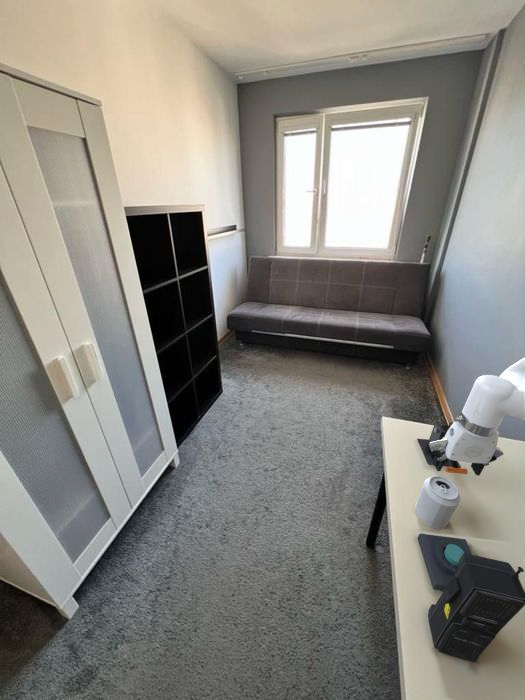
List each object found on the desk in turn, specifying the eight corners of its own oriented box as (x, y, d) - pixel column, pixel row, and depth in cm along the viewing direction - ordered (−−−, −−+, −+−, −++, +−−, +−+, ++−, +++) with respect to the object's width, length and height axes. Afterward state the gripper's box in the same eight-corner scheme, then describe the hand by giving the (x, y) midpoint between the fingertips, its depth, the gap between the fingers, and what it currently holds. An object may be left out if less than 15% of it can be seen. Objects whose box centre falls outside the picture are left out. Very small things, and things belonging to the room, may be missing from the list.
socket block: (462, 544, 65) (468, 534, 63) (485, 597, 57) (493, 588, 55) (417, 538, 67) (421, 529, 65) (433, 589, 58) (438, 580, 56)
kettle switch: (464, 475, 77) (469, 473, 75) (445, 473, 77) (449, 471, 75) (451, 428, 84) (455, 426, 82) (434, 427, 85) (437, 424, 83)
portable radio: (428, 650, 50) (475, 588, 38) (420, 608, 56) (459, 542, 43) (477, 665, 49) (543, 605, 37) (464, 620, 54) (518, 554, 42)
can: (447, 510, 72) (462, 480, 66) (447, 537, 67) (463, 507, 61) (415, 496, 76) (426, 467, 70) (412, 521, 70) (424, 492, 64)
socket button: (458, 549, 61) (461, 545, 60) (466, 568, 58) (469, 564, 57) (441, 546, 62) (443, 542, 61) (448, 565, 59) (450, 561, 58)
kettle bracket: (459, 469, 83) (472, 441, 77) (427, 466, 84) (437, 438, 78) (445, 443, 91) (456, 416, 85) (416, 441, 93) (425, 414, 87)
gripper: (446, 430, 66) (426, 477, 74) (528, 437, 63) (498, 485, 72) (434, 409, 72) (417, 454, 81) (507, 415, 70) (482, 461, 78)
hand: (455, 468), depth 76 cm, fingers open, 9 cm apart
